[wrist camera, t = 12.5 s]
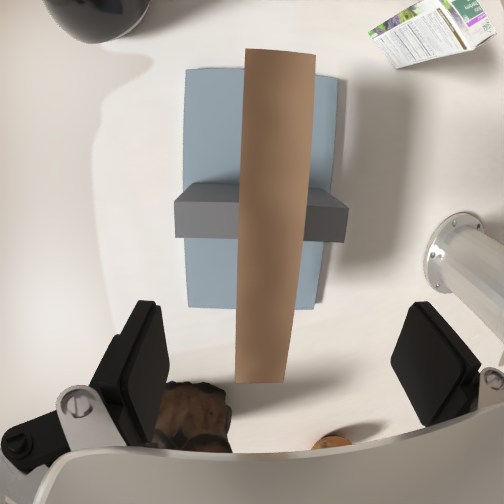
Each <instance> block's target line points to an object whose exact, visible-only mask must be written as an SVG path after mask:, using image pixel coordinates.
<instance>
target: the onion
mask: <svg viewBox="0 0 504 504" xmlns="http://www.w3.org/2000/svg"><path fill="white" fill-rule="evenodd" d="M347 445H352V444H351V443H350V441H349V440H347V439H346V438H343V437H340V436H329V437H325V438H323V439H321V440H319V441H318V442H317V443H316V444H315V445H314V446H313V447H312V449H311V450H317V449H325V448H333V447H340V446H347Z"/></svg>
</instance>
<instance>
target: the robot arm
mask: <svg viewBox="0 0 504 504" xmlns="http://www.w3.org/2000/svg"><path fill="white" fill-rule="evenodd" d="M424 272H425V277H426V279H427V281H428V283H429V284H430V286H431V287H432V288H433V289H435V290H436V291H438V292H440V293H444V294H446V293H454V294H455V295H456V296H457V297H458V298H459V299H460V300H461V301H462V302H463V303H464V304H466V305H467V306H468V307H469V308H470V309H471V310H472V311H473V312H474V313H475V314H476V315H477V316H478V317H479V318H480V319H481V320H482V321H483V322H484V324H485V325H486V326H487V327H488V328H489V329H490V330H491V331H492V332H493V333H494V334H495V335H496V336H497V337H498V338H499V339H500V340H501V341H502V342H503V343H504V245H502V244H501V243H499V242H497V241H496V240H494V239H492V238H490V237H489V236H487V235H486V234H485V231H484V228H483V225H482V223H481V222H480V221H479V220H478V219H477V218H476V217H474V216H472V215H470V214H467V213H458V214H455V215H453V216H451V217H449V218H448V219H446V220H445V221H444V222H443V223H442V224H441V225H440V226H439V227H438V228H437V230H436V231H435V232H434V234H433V236H432V237H431V239H430V242H429V244H428V246H427V250H426V253H425V259H424ZM391 366H392V368H393V370H394V371H395V373H396V375H397V377H398V379H399V381H400V383H401V385H402V386H403V388H404V390H405V392H406V394H407V396H408V398H409V400H410V402H411V404H412V406H413V408H414V410H415V412H416V414H417V416H418V418H419V420H420V422H421V424H422V425H423V426H425V427H426V428H423V429H419V430H416V431H412V432H408V433H404V434H400V435H396V436H392V437H388V438H383V439H379V440H374V441H369V442H364V443H358V444H353V445H347V446H340V447H333V448H325V449H317V450H307V451H295V452H281V453H207V452H191V451H179V450H169V449H157V448H146V443H151V442H152V439H153V435H154V430H155V426H156V422H157V417H158V413H159V409H160V405H161V401H162V397H163V393H164V389H165V385H166V381H167V377H168V373H169V367H170V363H169V356H168V351H167V345H166V339H165V332H164V326H163V319H162V312H161V307H160V306H158V305H156V303H155V302H154V301H144V300H139V301H138V302H137V304H136V306H135V308H134V309H133V311H132V313H131V315H130V317H129V319H128V321H127V322H126V324H125V326H124V328H123V330H122V332H121V334H116V335H115V336H114V337H113V339H112V341H111V343H110V344H109V346H108V348H107V350H106V352H105V354H104V356H103V358H102V360H101V362H100V364H99V366H98V368H97V370H96V372H95V374H94V376H93V378H92V380H91V382H90V384H89V386H85V385H76V386H72V387H69V388H67V389H65V390H64V391H63V392H62V393H61V394H60V395H59V397H58V398H57V401H56V410H55V411H53V412H50V413H48V414H45V415H42V416H40V417H37V418H35V419H32V420H30V421H27V422H25V423H22V424H19V425H17V426H14V427H12V428H10V429H9V430H7V431H6V432H5V434H4V435H3V437H2V441H1V448H0V504H504V373H503V372H501V371H500V370H498V369H496V368H492V367H487V368H484V369H483V370H482V371H481V373H479V372H478V370H479V368H480V366H481V363H480V361H479V360H478V359H477V358H476V356H475V355H474V354H473V353H472V351H471V350H470V349H469V348H468V346H467V345H466V344H465V343H464V342H463V340H462V339H461V338H460V337H459V336H458V334H457V333H456V332H455V331H454V330H453V329H452V327H451V326H450V325H449V324H448V323H447V322H446V321H445V319H444V318H443V317H442V316H441V315H440V314H439V313H438V312H437V311H436V309H435V308H434V307H433V306H432V305H431V304H430V303H429V302H427V301H424V302H415V303H414V304H413V305H412V306H411V307H410V308H409V310H408V313H407V316H406V319H405V322H404V325H403V328H402V330H401V333H400V336H399V338H398V341H397V344H396V346H395V349H394V351H393V354H392V356H391Z"/></svg>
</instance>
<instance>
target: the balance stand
mask: <svg viewBox="0 0 504 504" xmlns="http://www.w3.org/2000/svg"><path fill="white" fill-rule="evenodd" d="M243 89H244V69H190V70H186V78H185V97H184V124H183V193H182V194H181V195H180V196H179V197H178V198H177V199H176V200H175V201H174V215H175V238H184V244H185V265H186V282H187V296H188V307H194V308H220V309H236V296H237V254H238V218H239V187H240V160H241V134H242V111H243ZM337 90H338V79H337V78H331V77H324V76H318V75H315V91H314V113H313V130H312V146H311V160H310V173H309V185H308V196H307V207H306V217H305V227H304V237H303V246H302V255H301V263H300V272H299V280H298V287H297V295H296V303H295V310H312V309H314V305H315V299H316V293H317V287H318V281H319V275H320V268H321V261H322V255H323V247H324V242H341V243H344V240H345V233H346V226H347V219H348V212H349V208H348V207H347V206H345V205H344V204H343V203H341V202H340V201H339V200H337V199H336V198H335V197H333V196H332V195H331V194H330V189H331V179H332V168H333V157H334V144H335V129H336V112H337Z"/></svg>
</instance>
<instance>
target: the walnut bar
mask: <svg viewBox="0 0 504 504" xmlns="http://www.w3.org/2000/svg"><path fill="white" fill-rule="evenodd" d="M315 62H316V55H313V54H306V53H298V52H289V51H278V50H265V49H246V50H245V69H244V89H243V111H242V134H241V160H240V187H239V218H238V254H237V296H236V354H235V383H283V381H284V375H285V369H286V363H287V357H288V350H289V344H290V337H291V331H292V324H293V317H294V310H295V303H296V295H297V287H298V280H299V272H300V263H301V255H302V246H303V237H304V227H305V217H306V207H307V196H308V185H309V173H310V160H311V146H312V130H313V113H314V91H315Z"/></svg>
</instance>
